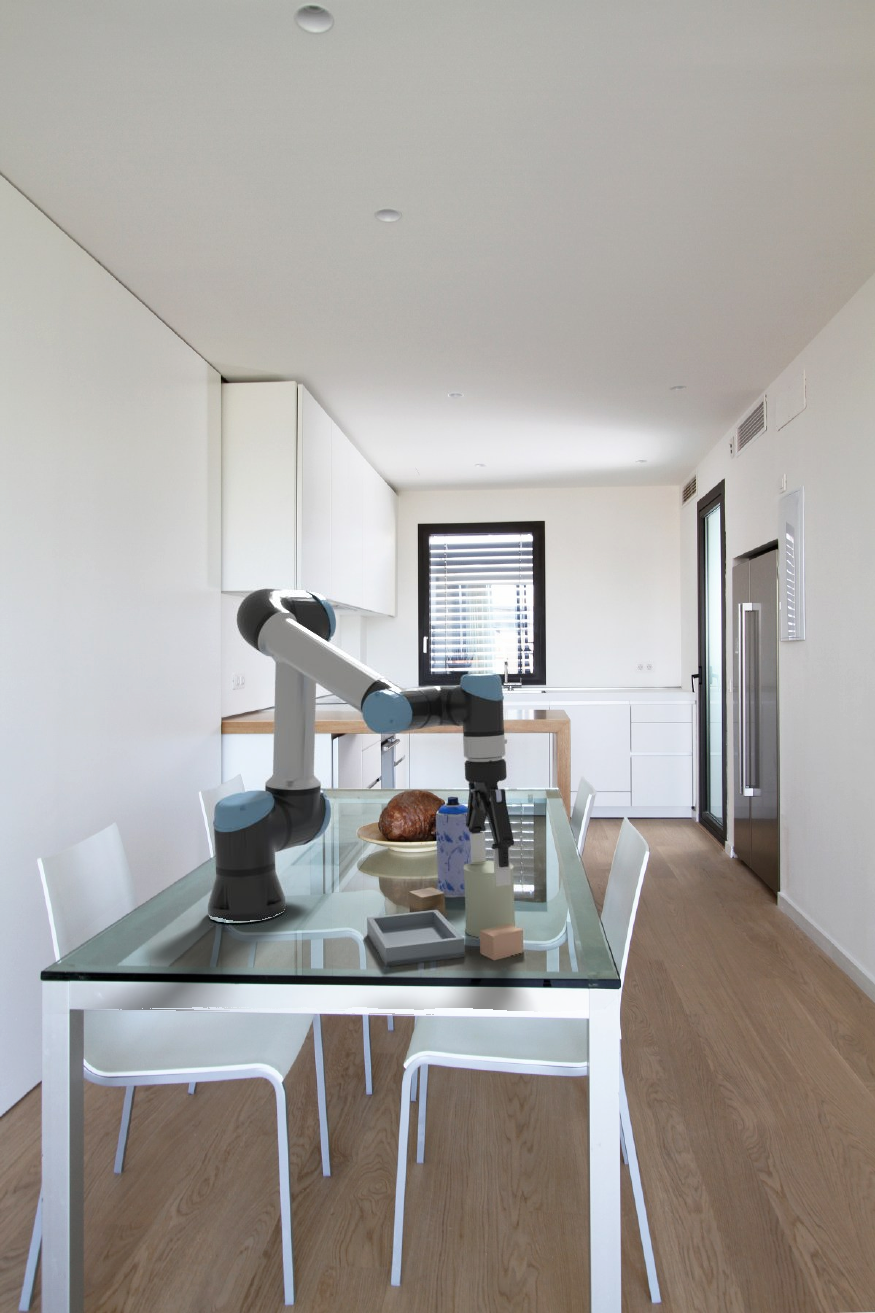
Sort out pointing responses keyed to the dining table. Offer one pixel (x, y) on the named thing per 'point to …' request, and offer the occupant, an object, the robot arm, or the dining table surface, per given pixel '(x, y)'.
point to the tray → (414, 937)
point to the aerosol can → (452, 847)
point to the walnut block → (427, 900)
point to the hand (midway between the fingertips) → (490, 876)
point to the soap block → (501, 941)
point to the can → (486, 898)
